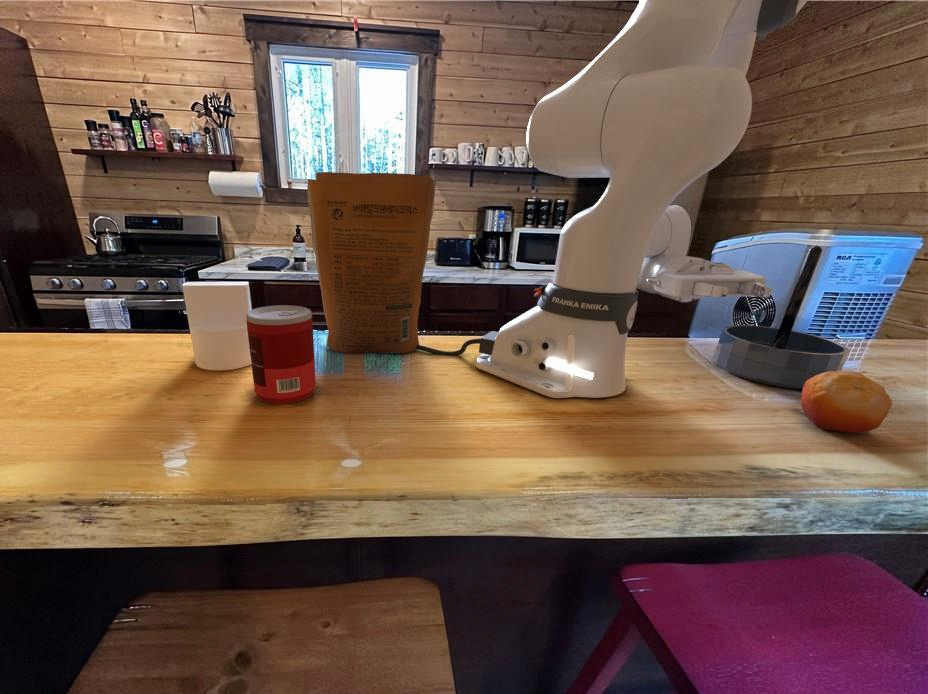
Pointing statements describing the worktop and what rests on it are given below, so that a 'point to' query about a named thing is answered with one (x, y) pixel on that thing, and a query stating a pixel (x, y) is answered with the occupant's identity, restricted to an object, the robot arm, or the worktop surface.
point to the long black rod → (797, 296)
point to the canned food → (282, 353)
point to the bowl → (777, 355)
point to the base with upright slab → (218, 323)
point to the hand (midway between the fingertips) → (746, 292)
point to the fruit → (844, 402)
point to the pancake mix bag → (371, 256)
